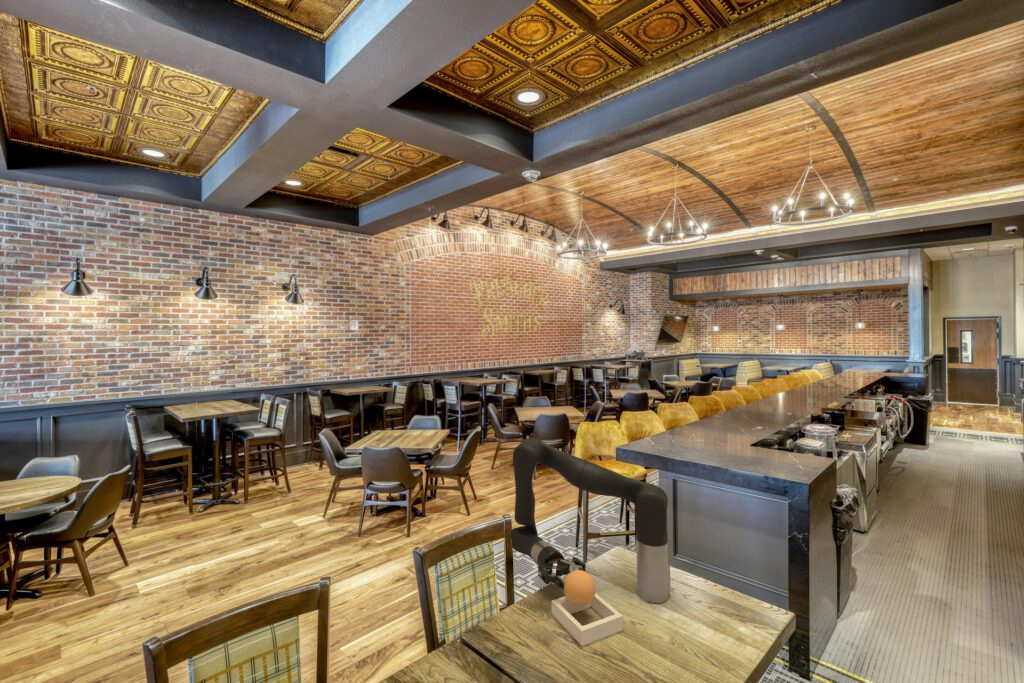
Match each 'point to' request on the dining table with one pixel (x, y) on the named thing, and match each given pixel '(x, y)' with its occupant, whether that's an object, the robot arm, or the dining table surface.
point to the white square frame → (593, 630)
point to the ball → (579, 588)
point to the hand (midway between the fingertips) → (575, 582)
